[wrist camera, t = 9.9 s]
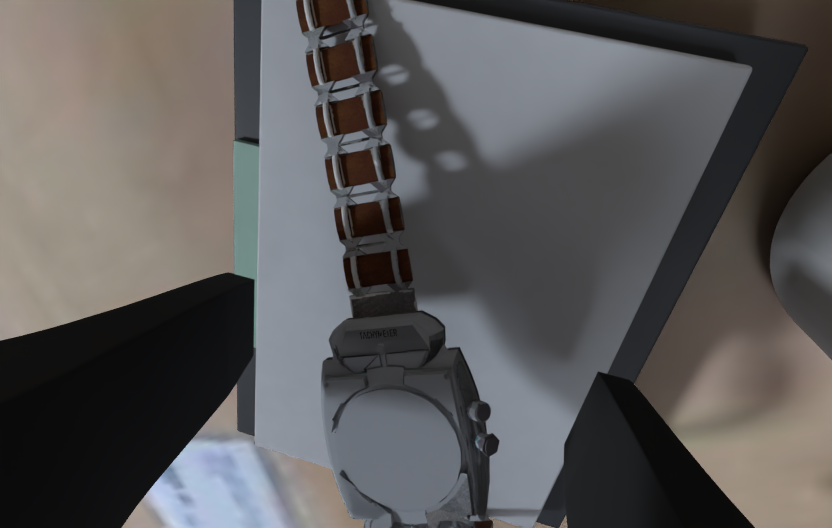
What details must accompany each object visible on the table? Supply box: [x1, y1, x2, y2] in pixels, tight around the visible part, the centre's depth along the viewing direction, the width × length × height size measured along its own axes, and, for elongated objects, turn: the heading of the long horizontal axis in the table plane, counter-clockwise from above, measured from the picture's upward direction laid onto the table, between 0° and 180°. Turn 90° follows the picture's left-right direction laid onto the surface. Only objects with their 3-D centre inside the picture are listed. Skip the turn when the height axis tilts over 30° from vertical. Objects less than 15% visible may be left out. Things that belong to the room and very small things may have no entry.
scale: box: [233, 0, 808, 528], centre depth 12 cm, size 14×11×3 cm
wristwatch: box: [296, 0, 500, 528], centre depth 11 cm, size 4×14×5 cm, turn 14°
